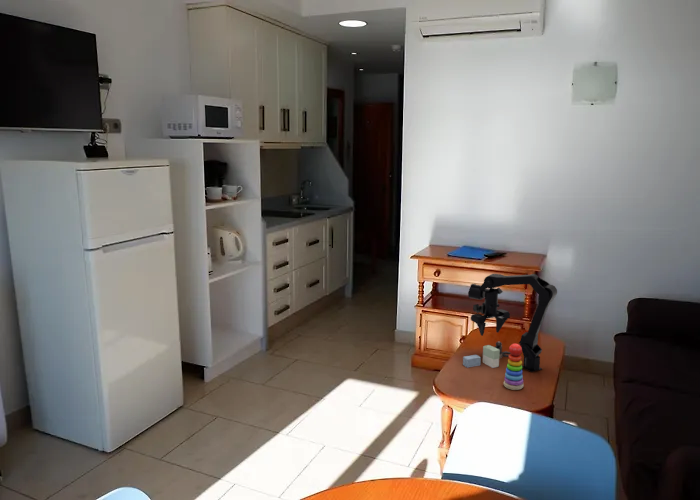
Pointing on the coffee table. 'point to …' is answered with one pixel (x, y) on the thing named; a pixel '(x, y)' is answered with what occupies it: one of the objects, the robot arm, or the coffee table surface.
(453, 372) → the coffee table surface
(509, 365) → the stacking toy
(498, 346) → the stuffed animal
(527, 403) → the coffee table surface
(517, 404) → the coffee table surface
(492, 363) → the cream brick
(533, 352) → the robot arm
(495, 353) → the sage brick
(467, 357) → the slate brick
